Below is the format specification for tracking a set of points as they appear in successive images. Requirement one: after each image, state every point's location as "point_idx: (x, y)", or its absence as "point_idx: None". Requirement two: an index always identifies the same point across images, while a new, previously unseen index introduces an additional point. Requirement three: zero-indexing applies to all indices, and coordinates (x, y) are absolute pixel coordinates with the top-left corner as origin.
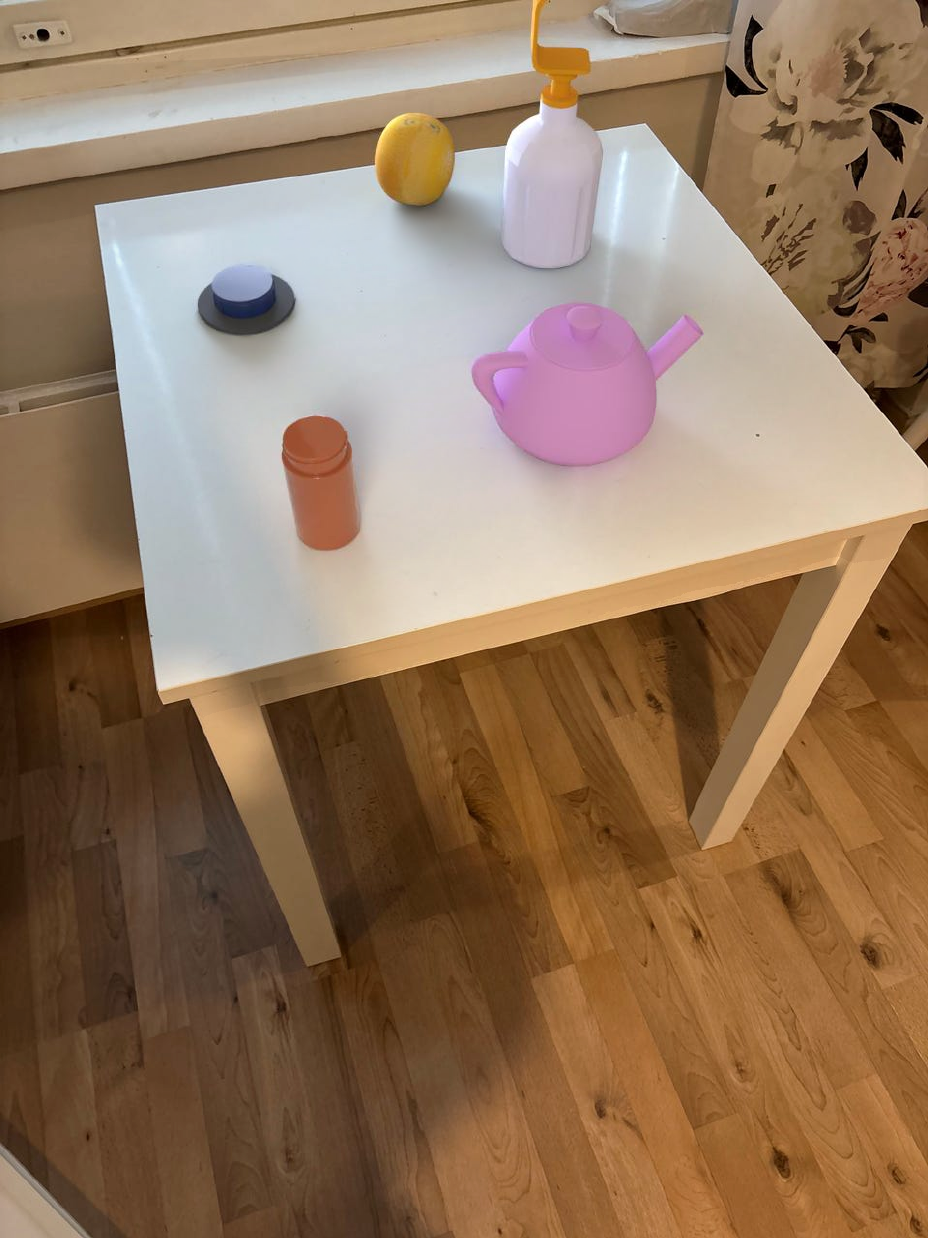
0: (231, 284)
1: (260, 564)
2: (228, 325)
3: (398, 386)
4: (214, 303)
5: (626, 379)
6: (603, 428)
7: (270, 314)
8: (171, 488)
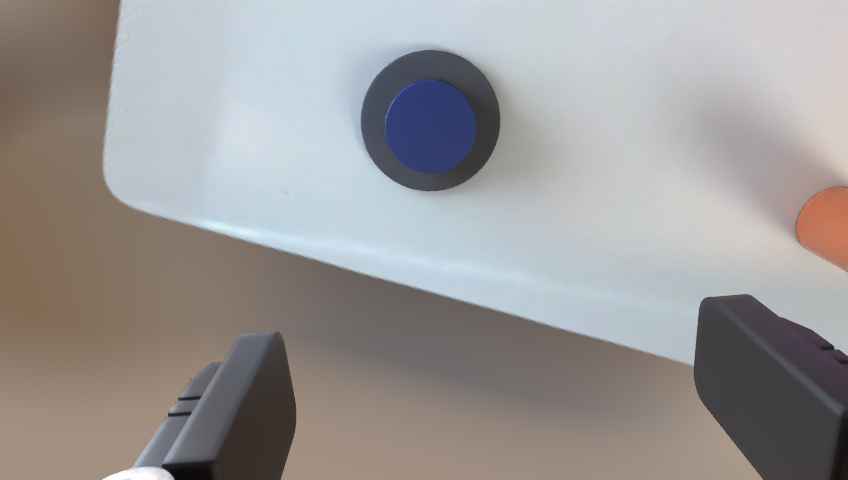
0: (426, 144)
1: (818, 299)
2: (467, 169)
3: (711, 22)
4: None
5: None
6: None
7: (479, 108)
8: (667, 330)
